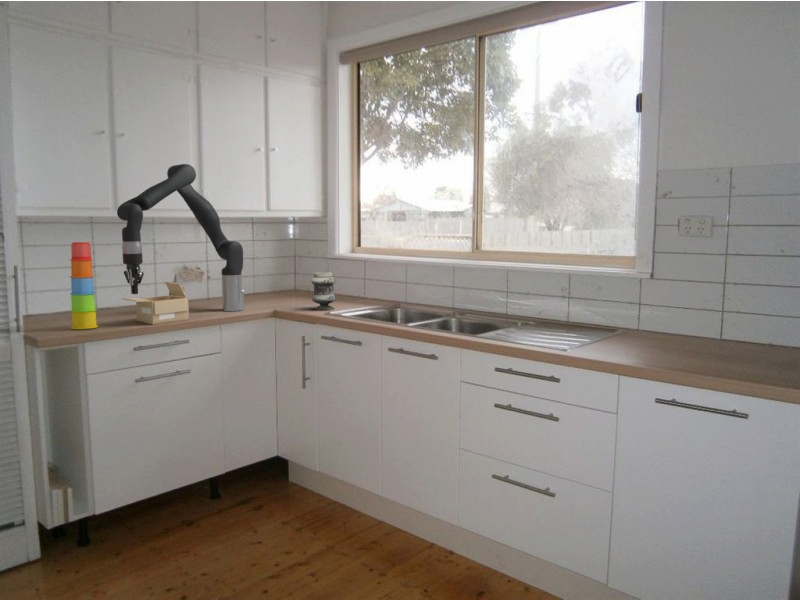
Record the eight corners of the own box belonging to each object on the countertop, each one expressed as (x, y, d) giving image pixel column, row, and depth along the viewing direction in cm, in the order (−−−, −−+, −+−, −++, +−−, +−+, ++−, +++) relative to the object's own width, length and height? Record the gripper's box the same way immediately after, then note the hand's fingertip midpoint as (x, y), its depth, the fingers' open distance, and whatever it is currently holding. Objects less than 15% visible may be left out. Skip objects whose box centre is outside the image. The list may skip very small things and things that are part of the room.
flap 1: (135, 297, 273) (121, 298, 268) (149, 300, 265) (135, 300, 260) (135, 299, 273) (121, 299, 268) (149, 301, 265) (135, 301, 261)
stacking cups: (64, 328, 256) (59, 242, 252) (88, 325, 265) (83, 241, 261) (80, 331, 251) (74, 242, 247) (104, 327, 260) (99, 242, 255)
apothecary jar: (316, 307, 320) (315, 271, 318) (339, 307, 318) (339, 271, 316) (308, 310, 309) (307, 273, 306) (332, 311, 306) (331, 273, 304)
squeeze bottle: (181, 314, 295) (179, 275, 293) (165, 313, 297) (163, 275, 294) (190, 311, 303) (188, 274, 301) (174, 311, 305) (173, 273, 302)
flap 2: (171, 293, 285) (165, 281, 283) (186, 295, 277) (180, 283, 275) (170, 293, 285) (164, 282, 282) (185, 296, 277) (179, 284, 275)
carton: (171, 316, 288) (170, 295, 287) (189, 320, 278) (188, 297, 277) (136, 321, 275) (135, 298, 274) (153, 325, 266) (152, 301, 265)
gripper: (149, 252, 262) (151, 294, 265) (133, 251, 271) (135, 292, 273) (131, 253, 257) (133, 296, 259) (115, 252, 265) (118, 293, 268)
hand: (134, 294), depth 266 cm, fingers closed
